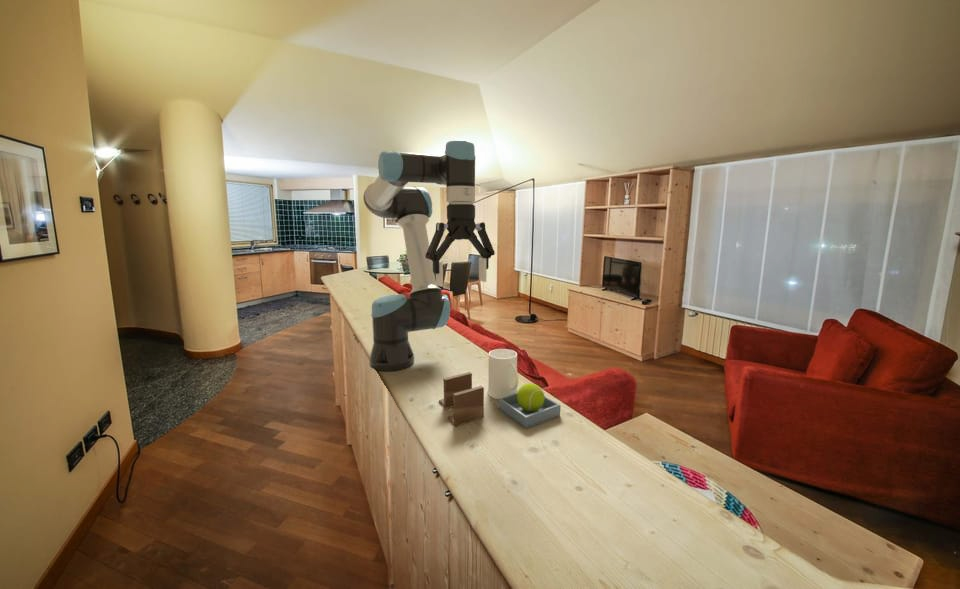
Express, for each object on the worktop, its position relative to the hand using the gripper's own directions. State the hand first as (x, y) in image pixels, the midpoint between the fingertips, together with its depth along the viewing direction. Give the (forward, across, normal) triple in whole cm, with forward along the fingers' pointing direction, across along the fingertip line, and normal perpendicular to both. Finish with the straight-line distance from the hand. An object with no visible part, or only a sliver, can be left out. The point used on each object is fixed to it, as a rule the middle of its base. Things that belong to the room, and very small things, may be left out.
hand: (461, 283), depth 103 cm
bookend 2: (+32, -7, -13) cm, 35 cm away
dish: (+32, +8, -20) cm, 38 cm away
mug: (+32, +8, -9) cm, 34 cm away
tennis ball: (+31, +9, -20) cm, 38 cm away
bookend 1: (+32, -5, -5) cm, 32 cm away
